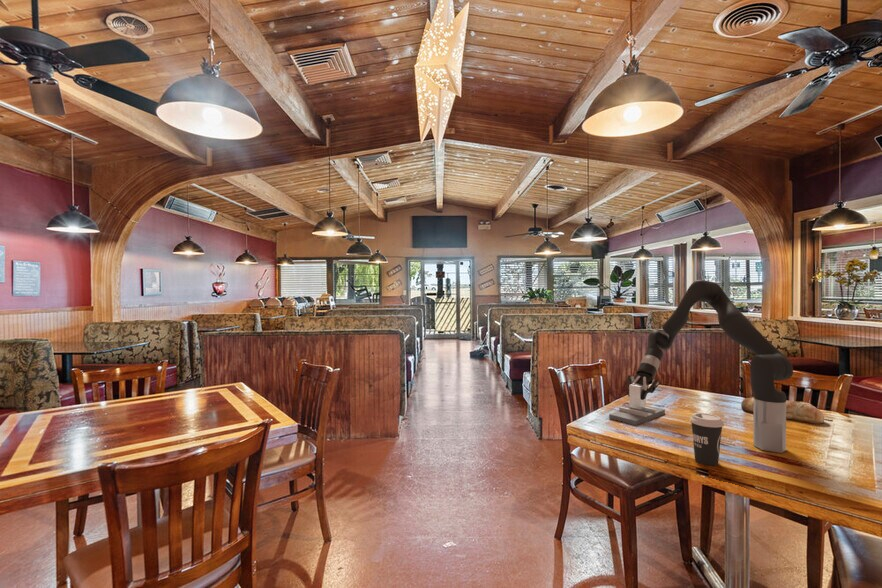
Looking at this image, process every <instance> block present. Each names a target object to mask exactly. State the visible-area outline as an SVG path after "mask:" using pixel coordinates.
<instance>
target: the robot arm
mask: <svg viewBox="0 0 882 588" xmlns="http://www.w3.org/2000/svg"><path fill="white" fill-rule="evenodd" d="M697 302H703V303H707V304H708V305H709V306H711V307H712V309H714V311H715V312H716V313H717V321H718V325H719V327H720V328H721V329H722V331H723V332H724V333H725V334H726V335H727V337H729V339H731V340H732V342H735V343H737V344H738V345H739V346H740V345H741V346H742V347H743V348H745V349H747V350H749V351H751V352H752V353H754V354H755V355H754V356H753V357H752V358H751V361H750V363H749V364H750V365H749V372H750V373H749V375H750V388H751V391H752V393H753V397H754V413H753V420H752V421H753V425H752V426H753V428H752V429H753V436H752V437H753V446H754V447H756V448H758V449H759V450H761V451H767V452H772V453H780V454H784V452H786V451H787V419H786V400H787V394H786V393H785V392H784V391H781V390H778V389H777V388H776V387H775V381H786V380H789V379H791V377H792V376H793V374H794V367H793V364H792V362H791V360H790V359H788V357H787V356H786V355H785V354H784V353H783V352H781V351H780V350H779V349H777V348H776V347H775V346H774V344H773V343H771V342H770V341H769V340H768V339H767V338H766V337H765V336H764V335H763V334H762V333H761V332H760V331H759V330H758V329H757V327H755V326H754V325H753V323H752V322H751V321H750V320H749V319H748V318H747V317H746V316H745V314H743V313H742V311H740V309H739V308H738V307H737V305H735V304H734V303H733V302H732V301H731V300H730V298H729V297H728V295H727V294H726V292H725V291H724V290H723V288H722V287H721V286H720V284H718V283H717V282H714V281H710V280H704V279H697V280H695V281H692V283H691V284H690V285H689V287H688V288H687V290H686V291H685V293H684V295H683V297H682V298H681V299H680V302H679V303H678V305H677V307H676V308H675V310H674V311H673V313H672V314H671V315H670V316H669V317H668V318H667V320H666V321H664V323H663V324H662V330H663V331H664V332H663V331H660V330H658V329H653V330H651V332H649V334H648V337H647V345H646V351H645V354H644V356H643V358H642V359H641V362H640V363H639V365H638V368H637V370H636V374H635V375H634V376H632V375H627V379H626V387H627V389H628V391H627V396H628V397H629V385H630V384H636V383H637V384H643V385H645V387H644V390H643V392H642V394H641V396H640V398H641V400H644V399H645V398H646V399H647V395H648V394H649V393H650V394H653V393H654V392H655V391H656V389H657V388H658V387H659V385H660V382H659V380H658V379H655V377H656V374H657V372H658V370H659V367H660V363H661V361H662V358H663V356H664V352H663V350H664V351H667V350H669V349H671V348H672V345H673V343H674V340H675V338H676V337H677V335H678V333H679V332H680V331H682V329H683V328H684V327H685V326H686V324H687V322H688V320H689V316H690V311H691V309H692V308H693V306H694V305H695V304H697Z"/></svg>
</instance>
